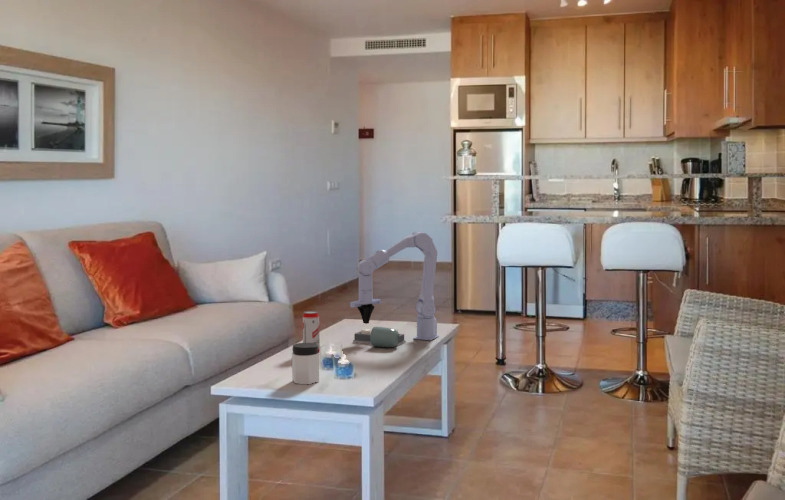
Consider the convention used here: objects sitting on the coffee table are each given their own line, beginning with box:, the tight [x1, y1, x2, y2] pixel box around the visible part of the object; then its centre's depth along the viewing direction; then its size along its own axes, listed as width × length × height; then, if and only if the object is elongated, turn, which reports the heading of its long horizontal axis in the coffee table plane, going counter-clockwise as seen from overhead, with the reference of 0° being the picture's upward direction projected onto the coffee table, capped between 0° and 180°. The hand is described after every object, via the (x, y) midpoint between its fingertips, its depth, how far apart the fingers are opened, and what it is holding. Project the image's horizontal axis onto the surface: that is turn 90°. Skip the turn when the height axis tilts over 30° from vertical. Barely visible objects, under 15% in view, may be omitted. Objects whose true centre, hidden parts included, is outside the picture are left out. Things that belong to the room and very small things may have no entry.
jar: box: [291, 342, 320, 385], centre depth 255 cm, size 9×8×12 cm
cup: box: [370, 326, 400, 348], centre depth 307 cm, size 8×8×10 cm
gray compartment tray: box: [352, 330, 407, 347], centre depth 317 cm, size 8×20×3 cm, turn 65°
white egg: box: [360, 328, 372, 334], centre depth 319 cm, size 4×4×3 cm
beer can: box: [302, 310, 321, 354], centre depth 295 cm, size 6×6×16 cm
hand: (366, 323), depth 319 cm, fingers closed
